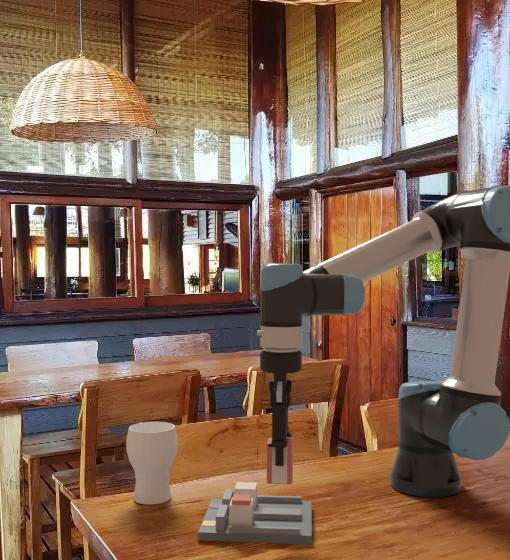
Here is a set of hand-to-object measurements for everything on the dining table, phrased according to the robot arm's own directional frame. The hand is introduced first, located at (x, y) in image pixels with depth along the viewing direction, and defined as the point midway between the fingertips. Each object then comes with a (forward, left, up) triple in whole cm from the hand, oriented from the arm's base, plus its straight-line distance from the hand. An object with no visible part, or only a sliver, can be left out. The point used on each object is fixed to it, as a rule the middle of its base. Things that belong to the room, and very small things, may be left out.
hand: (280, 477), depth 122 cm
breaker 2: (+7, 0, -9) cm, 11 cm away
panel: (+5, -5, -10) cm, 12 cm away
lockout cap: (0, 0, 0) cm, 0 cm away
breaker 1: (+7, -9, -9) cm, 14 cm away
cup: (+27, -17, -10) cm, 34 cm away
